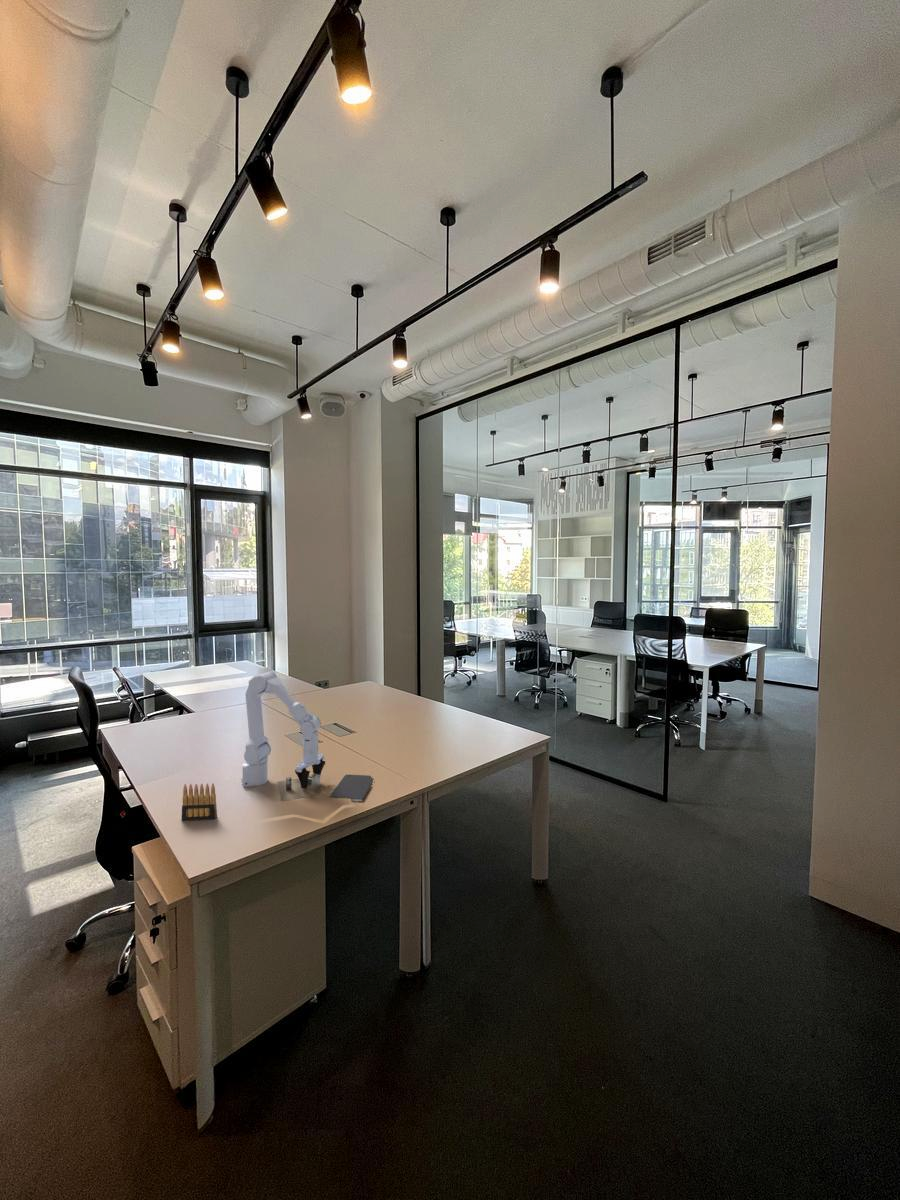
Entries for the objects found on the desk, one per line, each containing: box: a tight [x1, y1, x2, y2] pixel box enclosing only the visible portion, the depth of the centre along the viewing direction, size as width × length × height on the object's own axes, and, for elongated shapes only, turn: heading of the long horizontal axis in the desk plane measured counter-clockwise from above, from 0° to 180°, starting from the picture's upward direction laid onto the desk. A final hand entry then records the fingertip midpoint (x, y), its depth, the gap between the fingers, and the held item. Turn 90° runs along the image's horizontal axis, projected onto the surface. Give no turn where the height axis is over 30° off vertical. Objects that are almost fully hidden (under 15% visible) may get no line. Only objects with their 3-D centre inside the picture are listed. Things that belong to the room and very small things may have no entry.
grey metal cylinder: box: [285, 776, 293, 791], centre depth 183 cm, size 2×2×4 cm
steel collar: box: [301, 772, 321, 790], centre depth 186 cm, size 5×5×4 cm
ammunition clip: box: [180, 783, 218, 822], centre depth 162 cm, size 11×2×12 cm, turn 97°
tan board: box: [277, 778, 324, 802], centre depth 185 cm, size 15×18×1 cm
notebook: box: [328, 774, 375, 802], centre depth 187 cm, size 13×2×21 cm
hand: (310, 783), depth 186 cm, fingers open, 7 cm apart
